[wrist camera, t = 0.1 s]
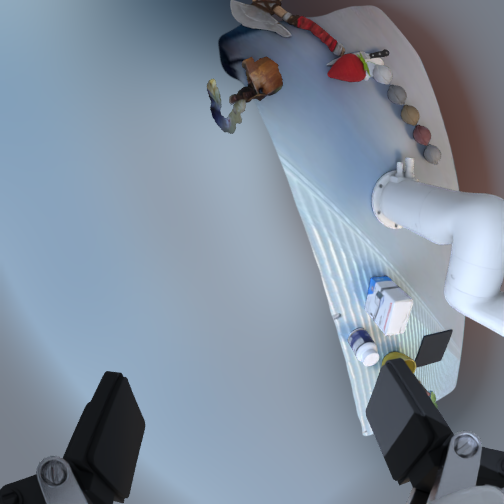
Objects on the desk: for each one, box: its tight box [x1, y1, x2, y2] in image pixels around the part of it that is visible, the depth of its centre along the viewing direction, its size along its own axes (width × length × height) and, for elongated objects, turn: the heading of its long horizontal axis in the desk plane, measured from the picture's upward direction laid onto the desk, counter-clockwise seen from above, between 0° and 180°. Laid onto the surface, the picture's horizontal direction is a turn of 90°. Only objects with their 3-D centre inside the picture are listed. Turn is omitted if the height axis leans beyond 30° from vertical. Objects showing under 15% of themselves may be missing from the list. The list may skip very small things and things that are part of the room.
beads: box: [373, 64, 441, 165], centre depth 46 cm, size 25×5×4 cm
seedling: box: [431, 391, 437, 408], centre depth 78 cm, size 7×8×7 cm
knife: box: [326, 49, 389, 66], centre depth 43 cm, size 15×1×2 cm
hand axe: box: [230, 0, 345, 57], centre depth 40 cm, size 4×11×25 cm
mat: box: [415, 330, 453, 367], centre depth 70 cm, size 12×12×1 cm
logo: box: [364, 53, 384, 81], centre depth 45 cm, size 6×1×8 cm
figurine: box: [207, 57, 283, 134], centre depth 44 cm, size 15×9×13 cm
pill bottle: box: [348, 328, 379, 366], centre depth 61 cm, size 5×5×10 cm
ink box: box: [365, 276, 413, 336], centre depth 56 cm, size 9×5×12 cm, turn 179°
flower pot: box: [382, 352, 416, 374], centre depth 66 cm, size 10×10×7 cm
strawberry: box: [328, 52, 375, 82], centre depth 42 cm, size 6×8×10 cm
